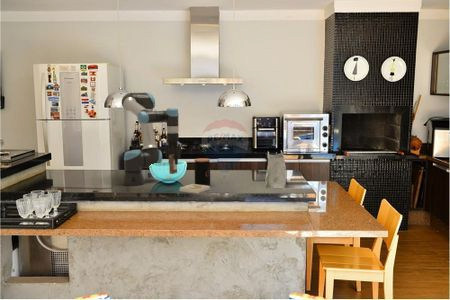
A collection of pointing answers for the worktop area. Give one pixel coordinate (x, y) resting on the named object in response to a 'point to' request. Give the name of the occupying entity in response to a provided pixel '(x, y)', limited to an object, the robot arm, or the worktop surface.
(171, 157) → the wooden wedge
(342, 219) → the worktop surface
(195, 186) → the candle dish
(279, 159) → the grocery bag
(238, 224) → the worktop surface
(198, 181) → the coffee jar
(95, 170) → the worktop surface
